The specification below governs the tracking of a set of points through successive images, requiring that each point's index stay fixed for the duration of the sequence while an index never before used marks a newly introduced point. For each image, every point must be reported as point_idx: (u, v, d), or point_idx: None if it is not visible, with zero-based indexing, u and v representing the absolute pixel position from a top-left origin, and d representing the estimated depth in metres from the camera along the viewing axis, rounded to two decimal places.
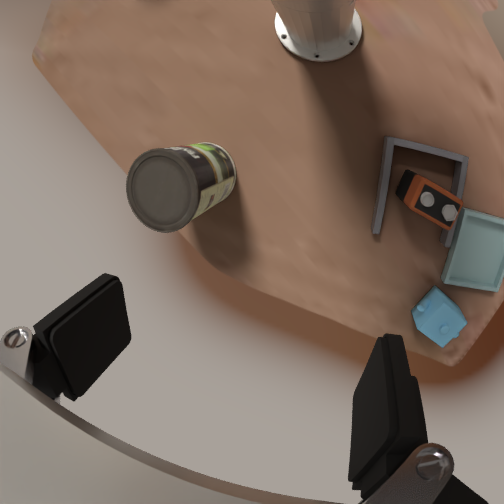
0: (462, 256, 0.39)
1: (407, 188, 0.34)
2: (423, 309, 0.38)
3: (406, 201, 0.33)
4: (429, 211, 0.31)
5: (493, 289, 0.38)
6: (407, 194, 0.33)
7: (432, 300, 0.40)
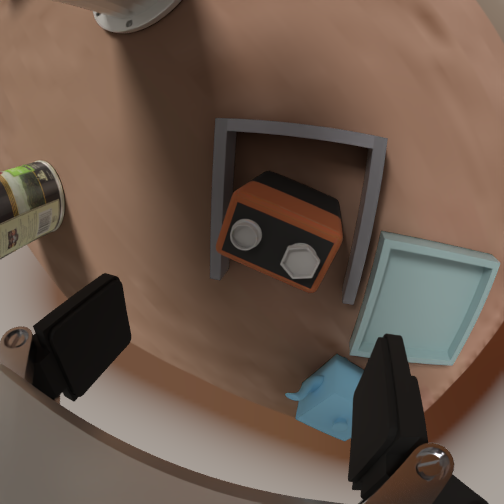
0: (387, 313, 0.26)
1: None
2: (298, 398, 0.25)
3: None
4: (256, 257, 0.17)
5: (444, 362, 0.25)
6: None
7: (325, 380, 0.27)
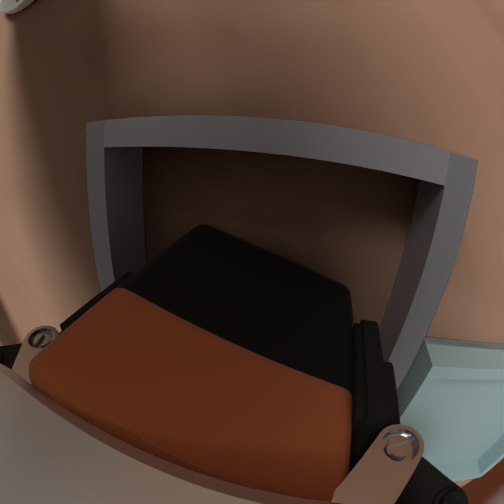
0: None
1: None
2: None
3: None
4: None
5: (472, 477, 0.12)
6: None
7: None
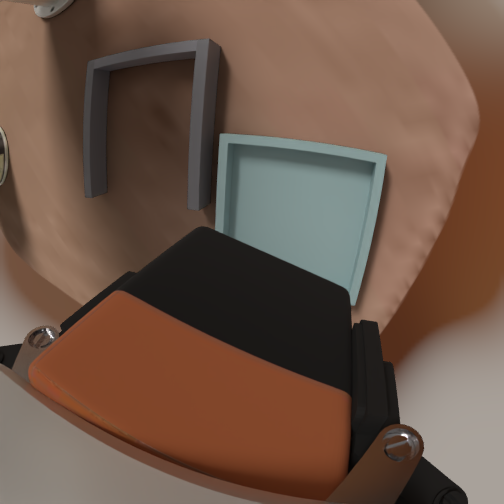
0: (251, 229, 0.25)
1: None
2: None
3: None
4: None
5: None
6: None
7: None
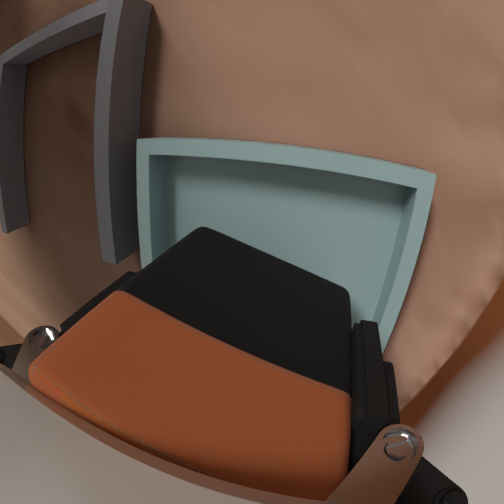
0: None
1: None
2: None
3: None
4: None
5: None
6: None
7: None
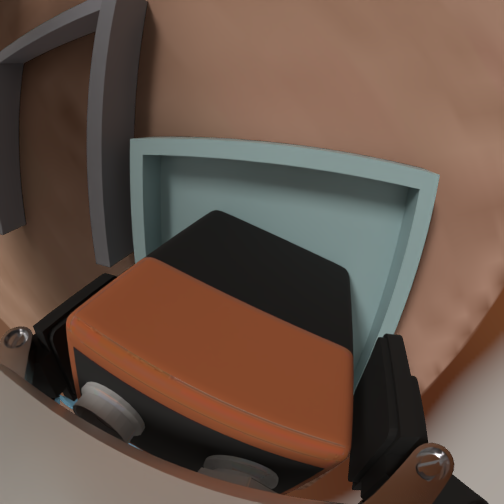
0: None
1: None
2: (72, 406, 0.14)
3: None
4: (146, 446, 0.06)
5: None
6: None
7: None
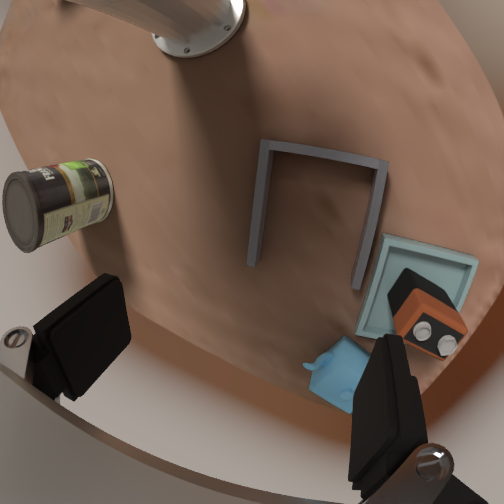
0: (386, 301, 0.32)
1: (401, 303, 0.27)
2: (313, 368, 0.31)
3: (395, 324, 0.26)
4: (422, 343, 0.23)
5: None
6: (399, 313, 0.26)
7: (335, 355, 0.33)
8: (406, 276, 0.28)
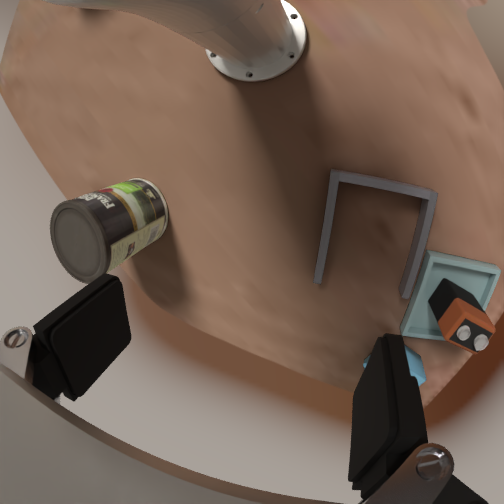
0: (426, 305, 0.36)
1: (444, 309, 0.30)
2: None
3: (441, 327, 0.29)
4: (462, 341, 0.27)
5: None
6: (443, 318, 0.29)
7: None
8: (446, 286, 0.32)
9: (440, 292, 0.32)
